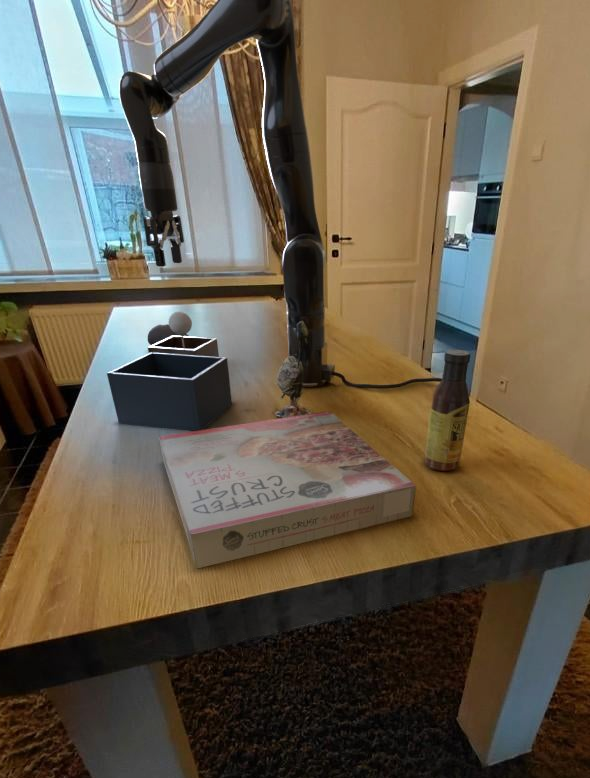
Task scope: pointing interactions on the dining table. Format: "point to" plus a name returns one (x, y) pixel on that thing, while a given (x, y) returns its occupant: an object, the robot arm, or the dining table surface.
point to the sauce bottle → (448, 414)
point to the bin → (171, 390)
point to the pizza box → (279, 485)
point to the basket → (187, 346)
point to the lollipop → (180, 324)
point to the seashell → (161, 334)
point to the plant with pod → (293, 379)
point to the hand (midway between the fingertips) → (169, 264)
